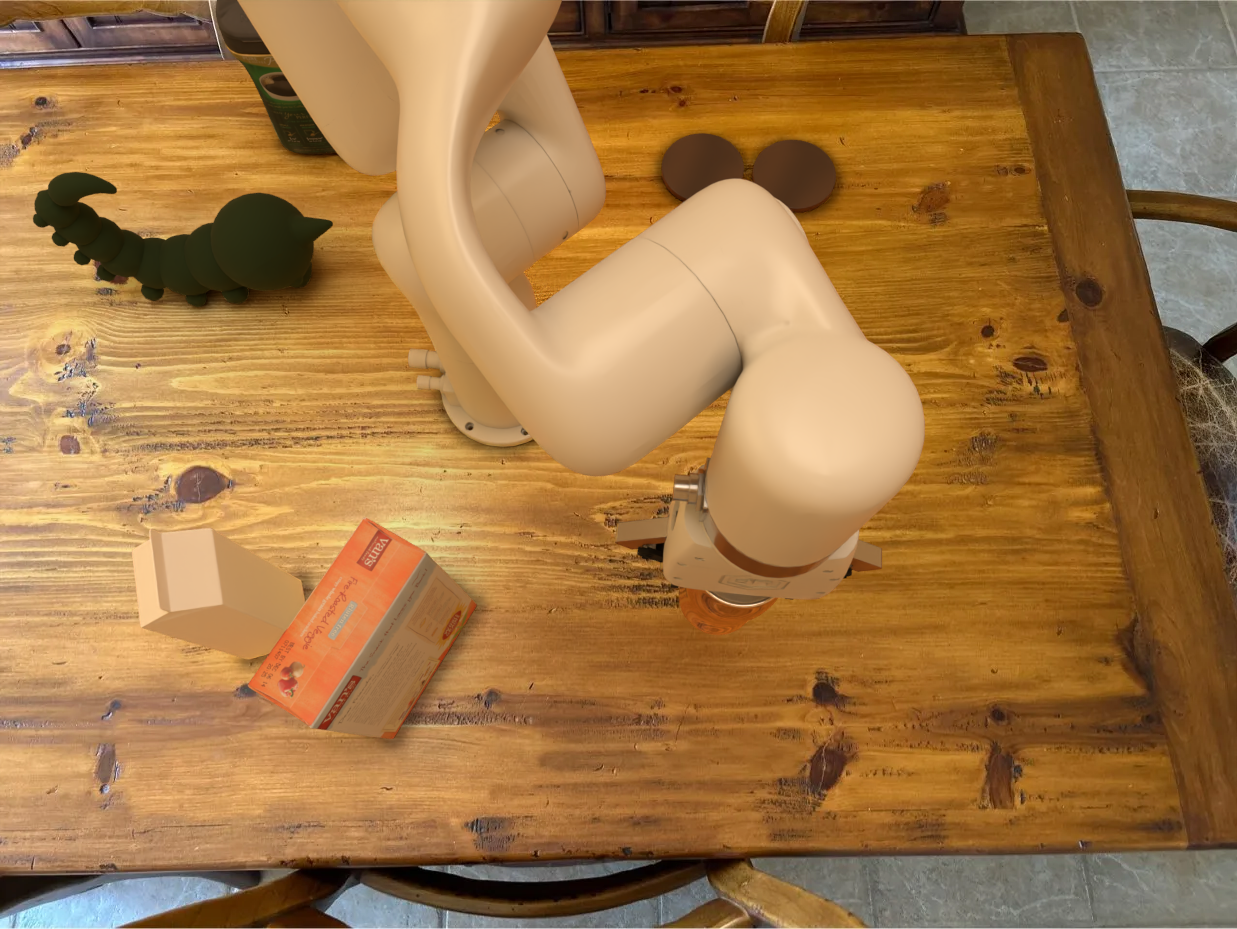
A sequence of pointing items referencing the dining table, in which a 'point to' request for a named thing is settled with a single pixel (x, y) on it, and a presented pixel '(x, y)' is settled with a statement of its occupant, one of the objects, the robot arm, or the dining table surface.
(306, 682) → the cracker box
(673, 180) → the coaster
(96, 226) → the toy figurine
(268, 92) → the coffee jar
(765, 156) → the coaster
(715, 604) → the wood grain tumbler
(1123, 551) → the dining table surface
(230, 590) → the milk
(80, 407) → the dining table surface
